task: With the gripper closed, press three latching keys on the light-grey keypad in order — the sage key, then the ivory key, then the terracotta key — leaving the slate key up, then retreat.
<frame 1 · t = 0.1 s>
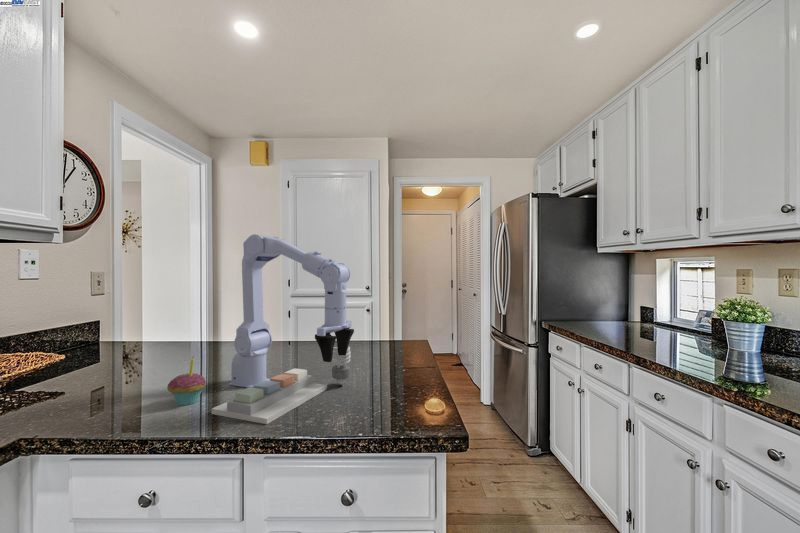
hand: (335, 358, 99), 10 cm above the counter, fingers open, 7 cm apart
key slate: (266, 388, 92), point 4 cm above the counter, slide at 0.0 cm
key sage: (249, 395, 87), point 4 cm above the counter, slide at 0.0 cm
light bulb: (341, 385, 108), on the counter
key ivory: (295, 375, 103), point 4 cm above the counter, slide at 0.0 cm
keypad: (274, 400, 95), on the counter
cupcake: (187, 403, 93), on the counter
key terracotta: (282, 381, 98), point 4 cm above the counter, slide at 0.0 cm
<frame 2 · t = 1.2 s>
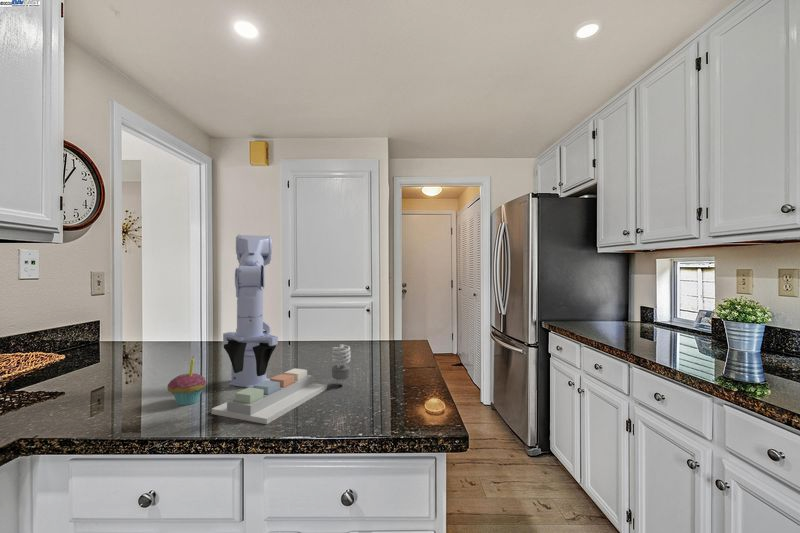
hand: (249, 373, 87), 9 cm above the counter, fingers open, 6 cm apart
nothing on the counter moved.
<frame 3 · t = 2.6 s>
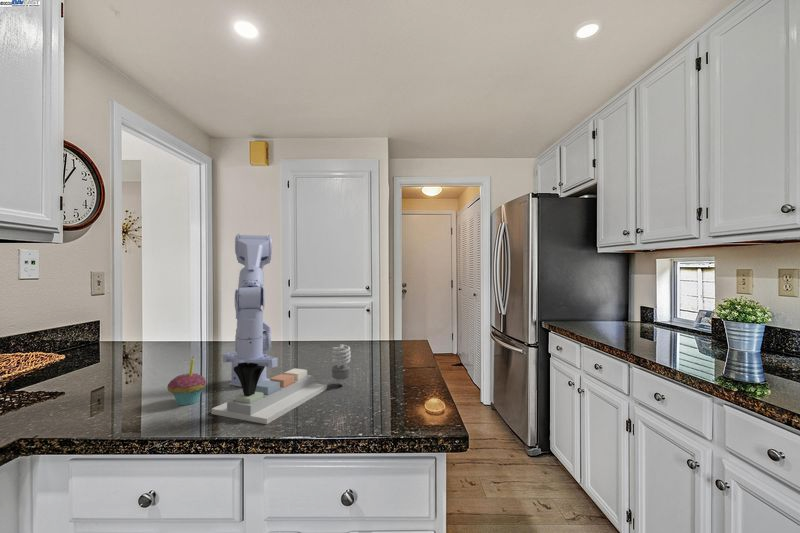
hand: (249, 394, 87), 4 cm above the counter, fingers closed, pressing on key sage
key sage: (249, 399, 87), point 3 cm above the counter, slide at 0.8 cm, touching gripper
everything else where it was.
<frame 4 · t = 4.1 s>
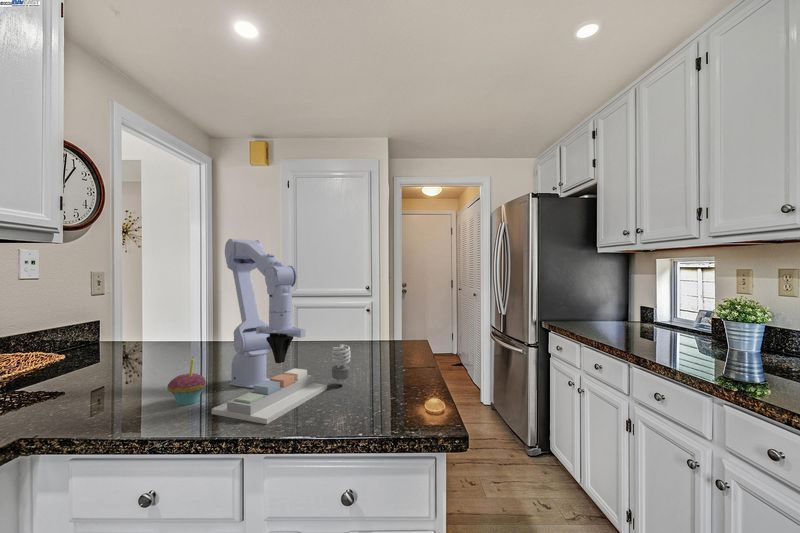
hand: (279, 362, 97), 9 cm above the counter, fingers closed
key sage: (249, 401, 87), point 3 cm above the counter, slide at 1.3 cm
everything else where it was.
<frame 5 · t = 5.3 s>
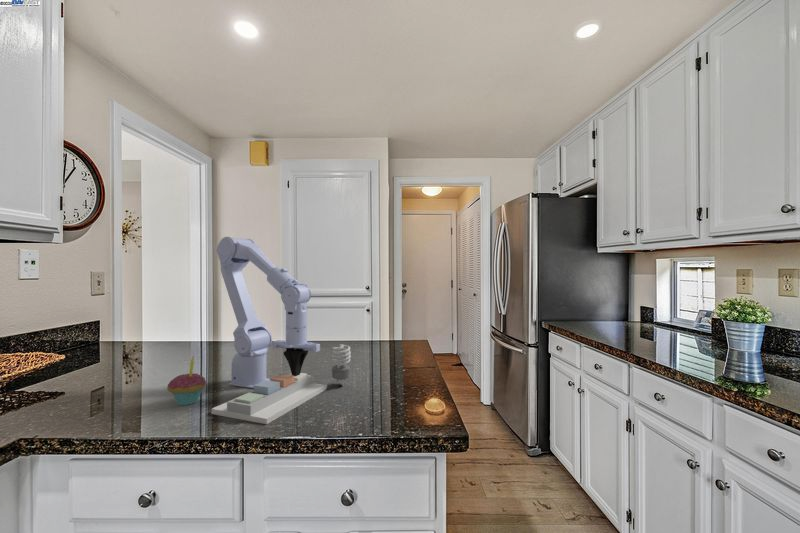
hand: (296, 375, 103), 4 cm above the counter, fingers closed, pressing on key ivory
key ivory: (295, 378, 103), point 3 cm above the counter, slide at 1.1 cm, touching gripper
everything else where it was.
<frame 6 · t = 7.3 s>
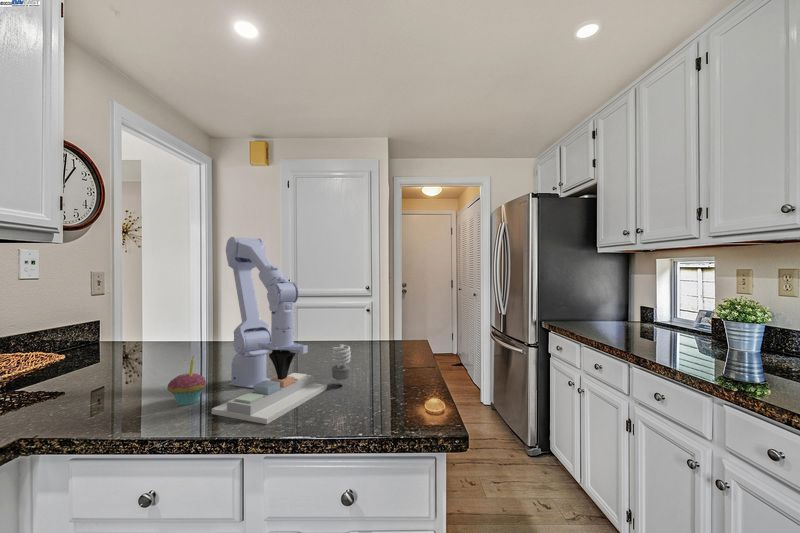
hand: (282, 378, 98), 5 cm above the counter, fingers closed, pressing on key terracotta
key ivory: (295, 379, 103), point 3 cm above the counter, slide at 1.3 cm
key terracotta: (282, 382, 98), point 4 cm above the counter, slide at 0.3 cm, touching gripper
everything else where it was.
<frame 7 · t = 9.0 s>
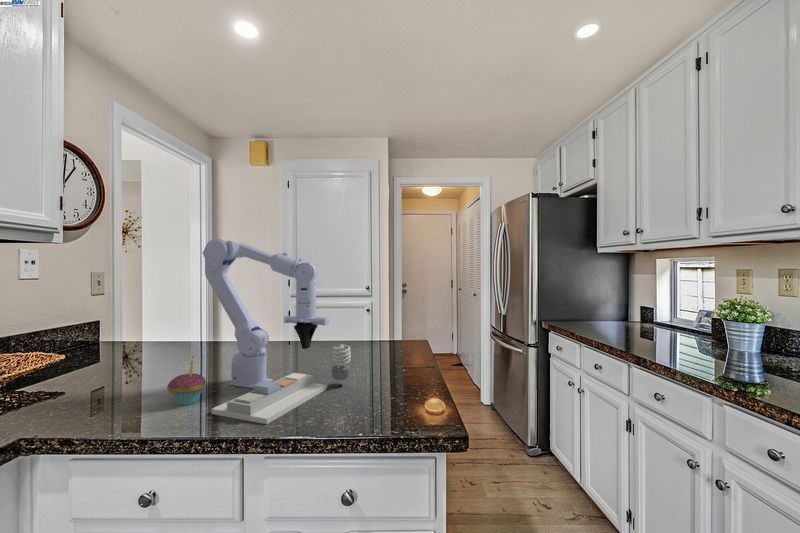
hand: (305, 348, 109), 10 cm above the counter, fingers closed
key terracotta: (282, 386, 98), point 3 cm above the counter, slide at 1.3 cm
everything else where it was.
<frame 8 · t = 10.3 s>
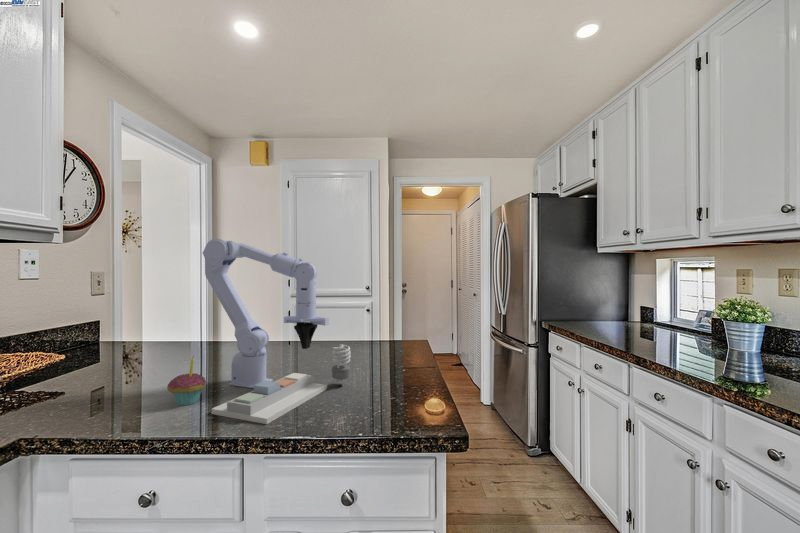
hand: (305, 348, 109), 10 cm above the counter, fingers closed
nothing on the counter moved.
at the end: key sage slide at 1.3 cm; key terracotta slide at 1.3 cm; key slate slide at 0.0 cm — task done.
